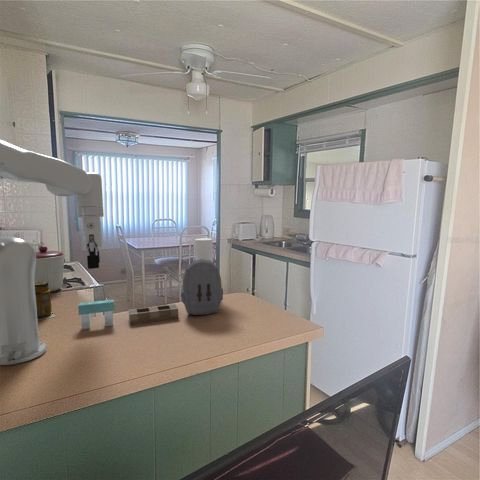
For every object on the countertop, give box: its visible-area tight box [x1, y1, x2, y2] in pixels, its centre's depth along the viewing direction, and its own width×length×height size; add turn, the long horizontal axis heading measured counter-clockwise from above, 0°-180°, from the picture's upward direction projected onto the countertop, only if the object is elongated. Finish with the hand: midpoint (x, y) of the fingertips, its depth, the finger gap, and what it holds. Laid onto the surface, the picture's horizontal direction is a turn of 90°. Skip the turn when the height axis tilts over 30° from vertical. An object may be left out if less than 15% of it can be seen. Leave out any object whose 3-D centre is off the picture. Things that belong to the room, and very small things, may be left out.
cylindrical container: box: [194, 237, 214, 263], centre depth 141 cm, size 7×7×25 cm
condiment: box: [35, 282, 57, 321], centre depth 122 cm, size 7×8×12 cm
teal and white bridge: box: [77, 298, 115, 330], centre depth 111 cm, size 3×10×8 cm, turn 111°
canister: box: [34, 245, 66, 293], centre depth 159 cm, size 18×18×21 cm
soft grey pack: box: [180, 259, 224, 316], centre depth 121 cm, size 15×8×20 cm, turn 105°
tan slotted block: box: [128, 303, 180, 326], centre depth 118 cm, size 6×16×4 cm, turn 111°
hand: (94, 265), depth 110 cm, fingers open, 9 cm apart
